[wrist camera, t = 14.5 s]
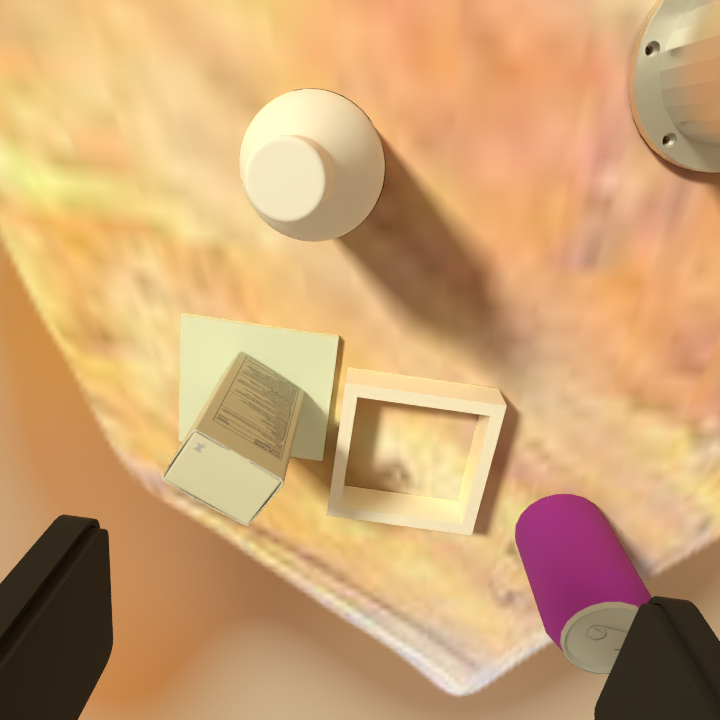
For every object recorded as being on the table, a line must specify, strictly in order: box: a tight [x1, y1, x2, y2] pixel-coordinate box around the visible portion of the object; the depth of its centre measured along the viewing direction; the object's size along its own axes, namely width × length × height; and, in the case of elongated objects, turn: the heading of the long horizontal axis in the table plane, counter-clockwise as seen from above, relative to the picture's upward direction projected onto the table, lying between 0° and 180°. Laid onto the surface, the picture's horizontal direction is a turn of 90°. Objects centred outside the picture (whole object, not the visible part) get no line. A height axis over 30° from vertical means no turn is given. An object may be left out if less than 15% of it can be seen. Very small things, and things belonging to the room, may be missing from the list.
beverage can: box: [515, 494, 651, 674], centre depth 42 cm, size 8×8×12 cm
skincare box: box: [162, 352, 305, 526], centre depth 38 cm, size 6×4×12 cm
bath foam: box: [240, 89, 385, 242], centre depth 28 cm, size 7×7×20 cm
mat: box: [179, 313, 339, 461], centre depth 44 cm, size 12×11×1 cm
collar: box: [327, 367, 507, 535], centre depth 44 cm, size 12×12×3 cm
